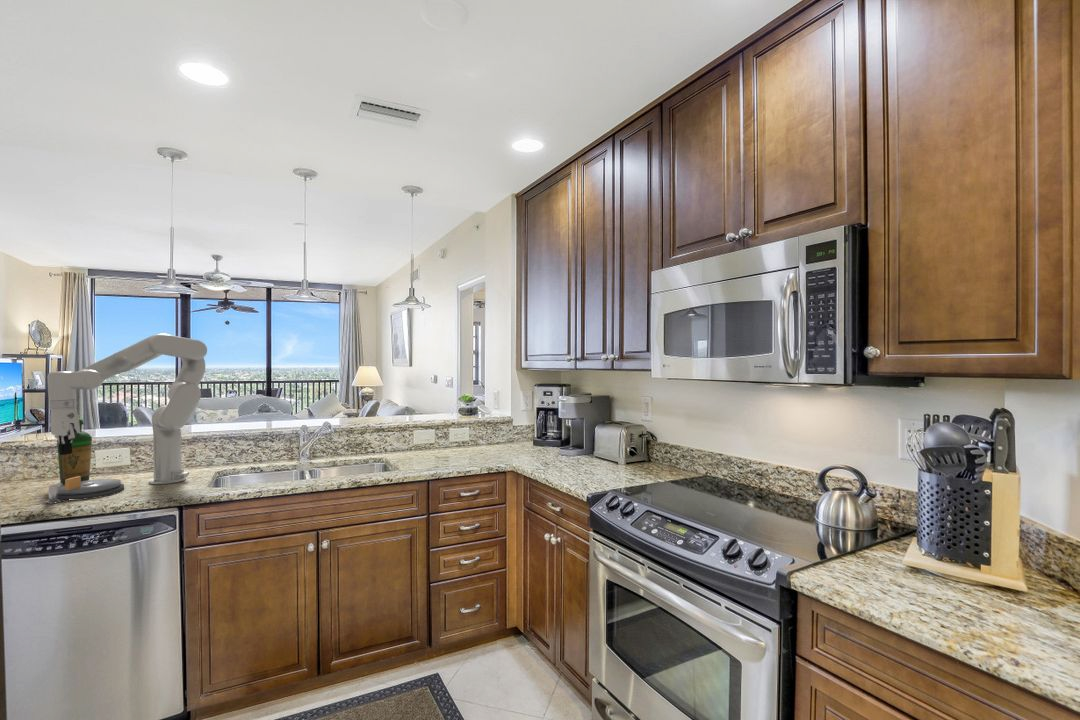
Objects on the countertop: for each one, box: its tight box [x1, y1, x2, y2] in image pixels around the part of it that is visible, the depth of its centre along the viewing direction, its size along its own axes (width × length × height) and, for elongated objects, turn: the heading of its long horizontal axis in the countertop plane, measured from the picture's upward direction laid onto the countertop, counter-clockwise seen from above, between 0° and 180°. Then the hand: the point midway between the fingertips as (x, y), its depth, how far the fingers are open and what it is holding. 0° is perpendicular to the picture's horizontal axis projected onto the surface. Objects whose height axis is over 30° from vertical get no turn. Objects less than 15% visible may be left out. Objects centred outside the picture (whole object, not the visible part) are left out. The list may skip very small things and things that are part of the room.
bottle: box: [56, 415, 93, 485], centre depth 211 cm, size 11×11×28 cm
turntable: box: [58, 476, 122, 495], centre depth 198 cm, size 19×19×6 cm
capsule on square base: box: [42, 482, 64, 503], centre depth 186 cm, size 5×4×6 cm
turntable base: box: [58, 483, 125, 500], centre depth 198 cm, size 21×21×2 cm
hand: (65, 454), depth 193 cm, fingers closed
